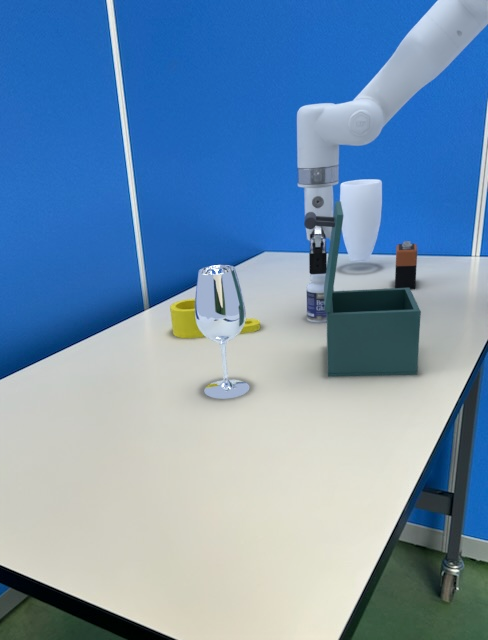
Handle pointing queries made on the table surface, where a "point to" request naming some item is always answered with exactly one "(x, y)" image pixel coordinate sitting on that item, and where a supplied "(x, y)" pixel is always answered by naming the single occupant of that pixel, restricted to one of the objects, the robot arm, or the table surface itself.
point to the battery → (406, 265)
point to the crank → (186, 320)
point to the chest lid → (336, 225)
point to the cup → (361, 216)
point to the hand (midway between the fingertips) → (317, 267)
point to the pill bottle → (316, 298)
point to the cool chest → (373, 333)
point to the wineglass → (220, 319)
